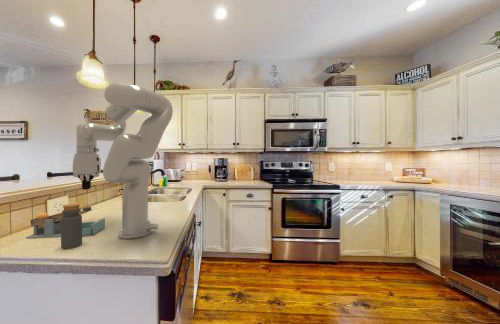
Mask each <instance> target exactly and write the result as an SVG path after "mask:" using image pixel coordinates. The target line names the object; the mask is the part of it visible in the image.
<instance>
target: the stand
mask: <svg viewBox="0 0 500 324" xmlns="http://www.w3.org/2000/svg"><path fill="white" fill-rule="evenodd" d="M25 237H26V238H25V239H44V238H61V221H58V222H56V223H54V219H46V220H44V227H43V228H38V225H36V226H33V234H30V235H28V236H25Z"/></svg>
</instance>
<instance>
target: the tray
mask: <svg viewBox="0 0 500 324" xmlns="http://www.w3.org/2000/svg"><path fill="white" fill-rule="evenodd" d="M104 229H106V218H105V217H103V218H101V219H99V220H98V221H88V222H86V221H85V222H83V221H82V237H92V236H93V237H94V236H95V235H96V234H98V233H100V232H101V231H102V230H104Z"/></svg>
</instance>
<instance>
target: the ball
mask: <svg viewBox="0 0 500 324" xmlns="http://www.w3.org/2000/svg"><path fill="white" fill-rule="evenodd" d="M48 216H49V214H48V213H47V212H45V211H44V212H40V213H38V214H37V216H36V218H37V220H38V219H43V218H48Z"/></svg>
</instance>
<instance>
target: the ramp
mask: <svg viewBox="0 0 500 324" xmlns="http://www.w3.org/2000/svg"><path fill="white" fill-rule="evenodd" d="M91 211H93V210H92V207H91V206H88V207H83V208H82V210H81V211H80V212H79V214H80V215H84V214H86V213H88V212H91ZM63 216H64V214H63V213H62V212H61V213H57V214H53V215H48V218H43V219H38V220H37V217H36V218H33V219H29V220H30V221H29V222H30V224H31V225H30V226H31V227H34V226H36V225H38V228H43V227H44V220H46V219H54V223H56V222H58V221H61V218H62V217H63Z"/></svg>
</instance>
